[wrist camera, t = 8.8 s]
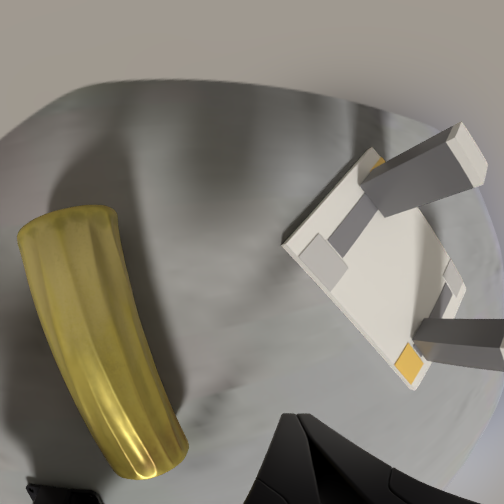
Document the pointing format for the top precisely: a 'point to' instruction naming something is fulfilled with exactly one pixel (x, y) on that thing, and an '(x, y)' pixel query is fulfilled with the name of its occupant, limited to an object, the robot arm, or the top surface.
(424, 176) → the switch
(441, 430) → the top surface
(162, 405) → the vase
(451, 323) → the switch
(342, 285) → the switch board
